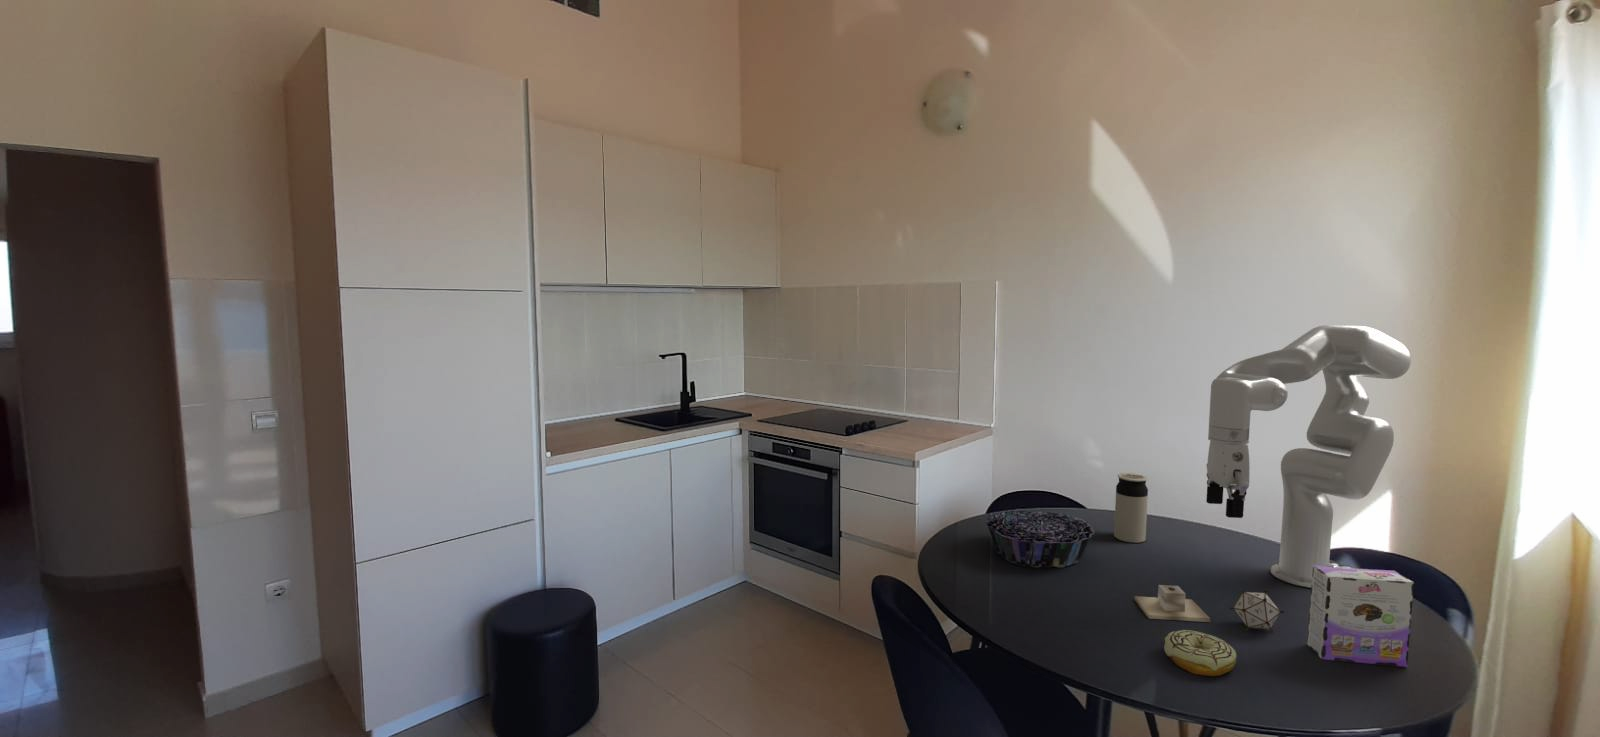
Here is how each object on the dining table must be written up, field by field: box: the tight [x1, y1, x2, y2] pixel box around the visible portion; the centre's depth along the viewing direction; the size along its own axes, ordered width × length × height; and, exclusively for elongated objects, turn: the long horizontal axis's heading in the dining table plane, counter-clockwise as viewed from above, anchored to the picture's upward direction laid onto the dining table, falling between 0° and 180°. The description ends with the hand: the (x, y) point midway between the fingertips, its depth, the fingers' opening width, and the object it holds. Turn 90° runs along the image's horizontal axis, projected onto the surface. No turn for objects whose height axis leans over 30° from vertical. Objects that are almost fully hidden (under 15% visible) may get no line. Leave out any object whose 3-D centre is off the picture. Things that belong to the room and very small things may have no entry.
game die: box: [1228, 588, 1287, 633], centre depth 136 cm, size 9×8×10 cm
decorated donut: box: [1163, 629, 1237, 677], centre depth 124 cm, size 11×12×4 cm
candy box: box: [1306, 565, 1415, 668], centre depth 125 cm, size 14×6×16 cm, turn 77°
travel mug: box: [1113, 472, 1149, 544], centre depth 187 cm, size 8×8×18 cm
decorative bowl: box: [985, 509, 1096, 569], centre depth 177 cm, size 26×28×10 cm
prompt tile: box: [1133, 584, 1211, 623], centre depth 145 cm, size 12×9×5 cm
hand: (1224, 510), depth 148 cm, fingers open, 9 cm apart
